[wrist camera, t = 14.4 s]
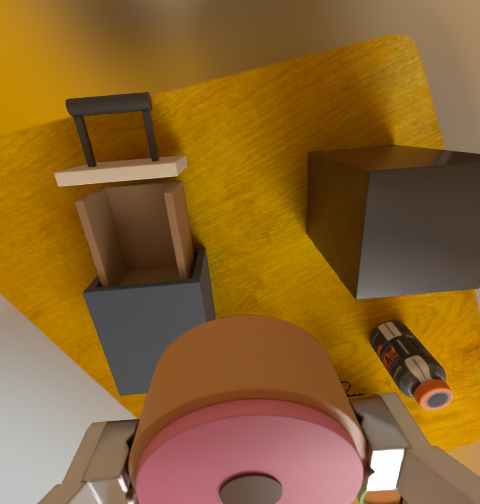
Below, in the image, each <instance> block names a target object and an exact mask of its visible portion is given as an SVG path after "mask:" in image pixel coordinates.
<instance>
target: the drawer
mask: <svg viewBox="0 0 480 504" xmlns="http://www.w3.org/2000/svg"><path fill="white" fill-rule="evenodd" d="M66 108H67V110H68V112H69V114H70V115H71V116H72V117H74V120H75V123H76V127H77V130H78V133H79V137H80V140H81V144H82V147H83V151H84V154H85V158H86V161H87V164H85V165H81V166H78V167H74V168H70V169H66V170H63V171H59V172H55V173H54V176H55V178H56V181H57V184H58V186H71V185H82V184H94V183H105V182H117V181H128V180H139V179H151V178H162V177H174V176H178V175H179V174H180V173H181V172H182V171H183V170H184V169H185V168H186V167H187V159H186V155H180V156H169V157H159V155H158V150H157V145H156V140H155V134H154V129H153V124H152V118H151V113H150V111H149V110H152V101H151V97H150V95H149V93H148V92H145V93H132V94H121V95H110V96H97V97H85V98H74V99H67V100H66ZM137 111H142V114H143V119H144V124H145V129H146V134H147V139H148V144H149V149H150V154H151V158H146V159H134V160H123V161H111V162H100V163H96V161H95V157H94V154H93V150H92V146H91V143H90V139H89V136H88V132H87V128H86V125H85V121H84V118H83V116H90V115H102V114H113V113H125V112H137ZM74 202H75V206H76V209H77V212H78V215H79V218H80V221H81V224H82V227H83V230H84V233H85V236H86V239H87V242H88V245H89V248H90V252H91V255H92V258H93V261H94V264H95V267H96V270H97V273H98V276H99V279H100V282H101V285H102V287H107V286H118V285H129V284H140V283H152V282H163V281H174V280H185V279H192V276H193V272H194V267H195V258H194V252H193V245H192V239H191V233H190V227H189V220H188V214H187V208H186V202H185V196H184V189H183V183H182V180H181V181H169V182H158V183H146V184H135V185H123V186H112V187H102V188H100V189H98V190H96V191H94V192H92V193H90V194H88V195H86V196H83V197H81V198H79V199H77V200H75V201H74Z"/></svg>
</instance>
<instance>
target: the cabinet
mask: <svg viewBox="0 0 480 504" xmlns="http://www.w3.org/2000/svg"><path fill="white" fill-rule="evenodd" d="M193 252H194V258H195V267H194V272H193V276H192V279H185V280H174V281H163V282H152V283H140V284H129V285H118V286H107V287H102V285H101V282H100V279H99V276H97V277H96V278H95V279H94V280H93V282H92V283H91V284H90V285H89V286H88V287H87V289H86V290H85V291H84V292H83V295H84V298H85V301H86V303H87V306H88V309H89V312H90V315H91V317H92V320H93V323H94V326H95V328H96V331H97V334H98V337H99V339H100V342H101V345H102V348H103V350H104V353H105V356H106V359H107V361H108V364H109V367H110V370H111V372H112V375H113V378H114V381H115V383H116V386H117V389H118V392H119V394H120V396H122V395H132V394H143V393H148V391H149V387H150V384H151V380H152V377H153V374H154V371H155V368H156V365H157V363H158V361H159V359H160V357H161V356H162V354H163V353H164V352H165V350H166V349H167V348H168V347H169V346H170V345H171V344H172V343H173V342H174V341H175V340H176V339H177V338H179V337H180V336H181V335H183V334H184V333H186V332H187V331H189V330H191V329H193V328H195V327H196V326H199V325H201V324H204V323H206V322H209V321H212V320H216V318H215V311H214V304H213V297H212V289H211V282H210V275H209V268H208V261H207V254H206V248H199V249H193Z"/></svg>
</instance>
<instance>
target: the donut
mask: <svg viewBox="0 0 480 504" xmlns="http://www.w3.org/2000/svg"><path fill="white" fill-rule="evenodd" d="M366 452H367V442H366V439H365V436H364V434H363V431H362V429H361V427H360V424H359V422H358V420H357V418H356V416H355V413H354V411H353V409H352V407H351V404H350V402H349V400H348V398H347V395H346V393H345V391H344V389H343V386H342V384H341V382H340V380H339V378H338V375H337V373H336V371H335V369H334V366H333V364H332V362H331V360H330V357H329V355H328V354H327V352H326V350H325V349H324V347H323V346H322V345H321V344H320V343H319V342H318V340H317V339H315V338H314V337H313V336H312V335H310V334H309V333H308V332H306V331H305V330H303V329H301V328H300V327H298V326H296V325H294V324H291V323H289V322H286V321H283V320H280V319H276V318H272V317H266V316H256V315H239V316H230V317H224V318H220V319H216V320H212V321H209V322H206V323H204V324H201V325H199V326H196V327H195V328H193V329H191V330H189V331H187V332H186V333H184V334H183V335H181V336H180V337H179V338H177V339H176V340H175V341H174V342H173V343H172V344H171V345H170V346H169V347H168V348H167V349H166V350H165V352H164V353H163V354H162V356H161V357H160V359H159V361H158V363H157V365H156V368H155V371H154V374H153V377H152V380H151V384H150V387H149V391H148V394H147V397H146V401H145V404H144V407H143V411H142V414H141V417H140V421H139V424H138V427H137V431H136V434H135V438H134V441H133V444H132V448H131V451H130V454H129V461H128V471H129V477H130V479H131V480H130V481H131V484H132V486H133V488H134V489H135V491H136V495H137V498H138V502H139V504H351V503H352V502H353V501H354V499H355V498H356V496H357V495H358V492H359V490H360V488H361V485H362V481H363V471H364V466H366V464H367V458H366Z"/></svg>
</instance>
